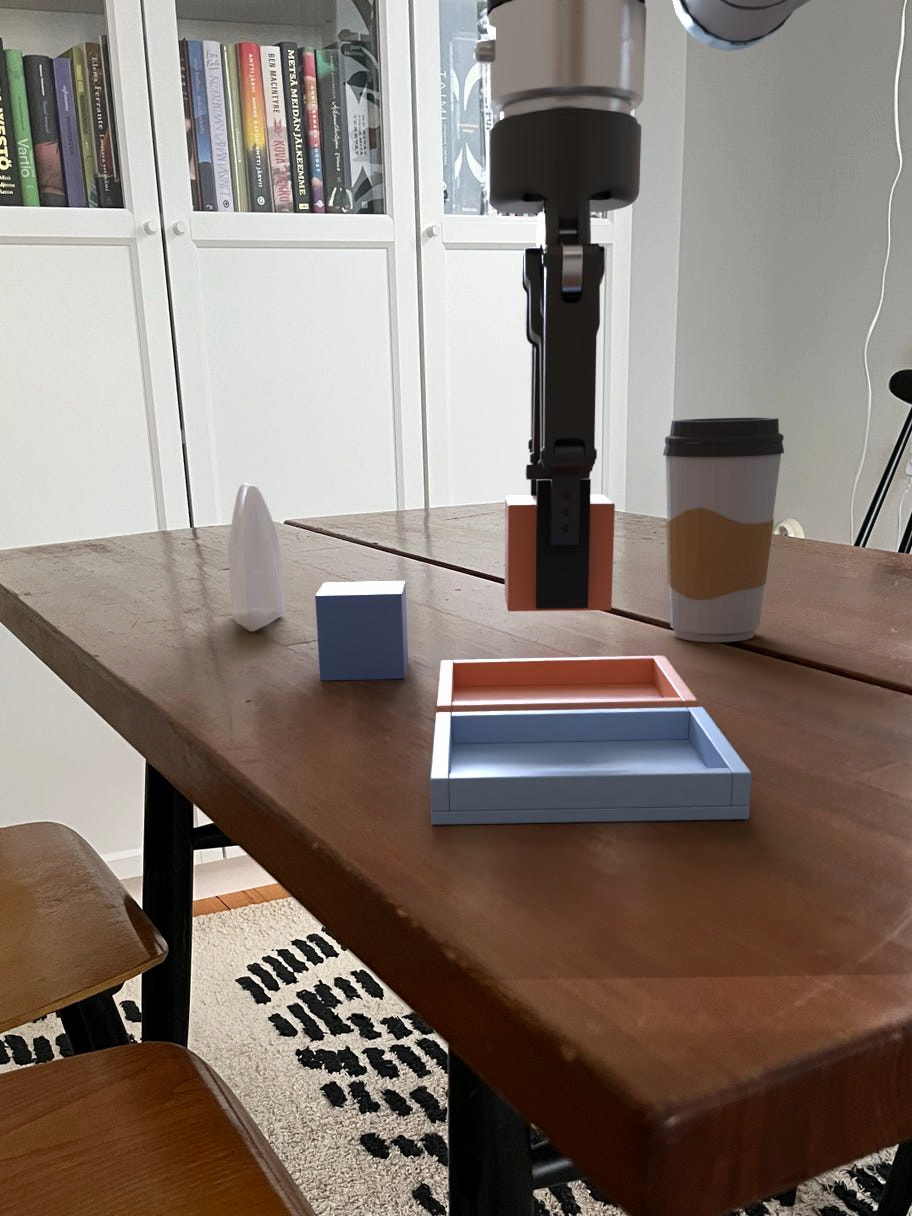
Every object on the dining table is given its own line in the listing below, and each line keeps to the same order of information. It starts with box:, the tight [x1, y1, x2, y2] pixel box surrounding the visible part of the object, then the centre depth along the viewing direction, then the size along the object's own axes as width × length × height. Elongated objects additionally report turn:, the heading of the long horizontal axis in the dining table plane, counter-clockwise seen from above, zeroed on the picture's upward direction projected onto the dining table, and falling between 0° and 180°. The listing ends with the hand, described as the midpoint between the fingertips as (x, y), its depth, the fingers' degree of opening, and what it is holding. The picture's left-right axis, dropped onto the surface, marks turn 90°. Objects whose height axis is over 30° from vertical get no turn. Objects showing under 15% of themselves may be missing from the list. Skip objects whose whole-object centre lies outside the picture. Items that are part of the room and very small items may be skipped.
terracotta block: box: [504, 494, 616, 612], centre depth 69 cm, size 6×6×6 cm
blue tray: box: [429, 706, 753, 826], centre depth 59 cm, size 14×12×2 cm
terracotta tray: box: [436, 655, 699, 714], centre depth 71 cm, size 14×12×2 cm
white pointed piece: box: [227, 483, 286, 632], centre depth 100 cm, size 12×4×11 cm, turn 7°
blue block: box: [314, 580, 409, 682], centre depth 83 cm, size 6×6×6 cm
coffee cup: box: [662, 417, 785, 643], centre depth 90 cm, size 8×8×15 cm
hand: (557, 597), depth 69 cm, fingers closed on terracotta block, 5 cm apart
